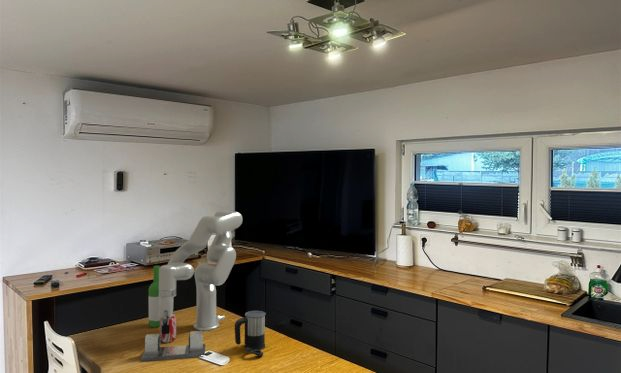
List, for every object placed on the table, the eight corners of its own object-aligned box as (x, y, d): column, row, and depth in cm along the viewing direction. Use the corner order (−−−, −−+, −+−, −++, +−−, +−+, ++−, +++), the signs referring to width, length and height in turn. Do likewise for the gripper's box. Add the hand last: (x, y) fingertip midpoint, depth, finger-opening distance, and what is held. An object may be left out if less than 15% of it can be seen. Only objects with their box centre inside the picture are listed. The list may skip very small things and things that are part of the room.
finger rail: (205, 347, 188) (205, 328, 188) (204, 356, 178) (204, 336, 178) (145, 351, 183) (145, 332, 182) (141, 361, 173) (141, 341, 173)
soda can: (171, 344, 191) (171, 317, 190) (156, 342, 192) (156, 316, 192) (179, 338, 198) (178, 312, 197) (165, 337, 199) (165, 311, 199)
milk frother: (257, 340, 195) (257, 308, 195) (279, 351, 184) (279, 317, 184) (231, 349, 185) (231, 316, 185) (252, 361, 174) (252, 325, 174)
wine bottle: (154, 322, 219) (153, 264, 218) (168, 323, 218) (167, 264, 217) (145, 327, 212) (145, 267, 211) (159, 328, 210) (159, 268, 209)
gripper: (161, 288, 202) (160, 324, 202) (155, 298, 185) (155, 337, 185) (178, 287, 203) (177, 323, 203) (173, 297, 186) (173, 336, 187)
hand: (166, 329), depth 194 cm, fingers open, 9 cm apart
